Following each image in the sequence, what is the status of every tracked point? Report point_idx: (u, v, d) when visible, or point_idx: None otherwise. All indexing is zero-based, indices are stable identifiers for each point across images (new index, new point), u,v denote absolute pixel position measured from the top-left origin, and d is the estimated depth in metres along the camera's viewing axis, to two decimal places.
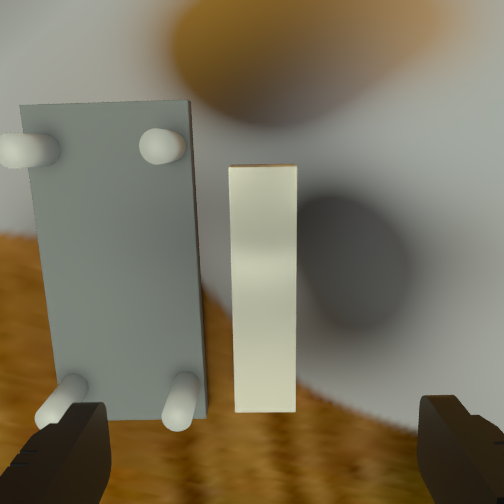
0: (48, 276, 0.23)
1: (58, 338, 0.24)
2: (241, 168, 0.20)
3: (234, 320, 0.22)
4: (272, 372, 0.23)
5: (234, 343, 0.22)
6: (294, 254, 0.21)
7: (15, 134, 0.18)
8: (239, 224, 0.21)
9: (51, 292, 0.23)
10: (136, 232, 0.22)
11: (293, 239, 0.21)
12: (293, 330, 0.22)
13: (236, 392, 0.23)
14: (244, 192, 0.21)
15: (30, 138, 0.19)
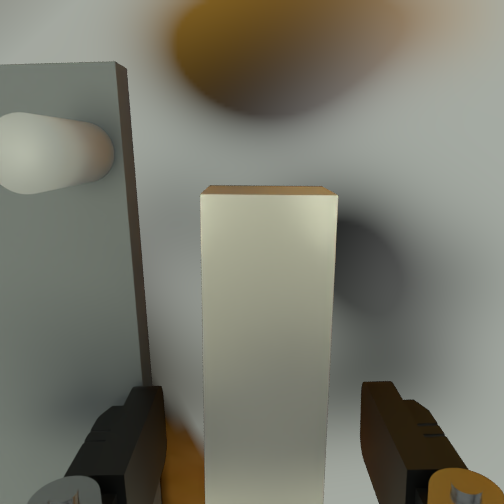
0: None
1: None
2: (226, 196, 0.10)
3: (208, 479, 0.12)
4: None
5: None
6: (326, 363, 0.11)
7: None
8: (219, 304, 0.11)
9: None
10: (27, 313, 0.12)
11: (325, 335, 0.11)
12: (318, 498, 0.12)
13: None
14: (231, 245, 0.10)
15: None
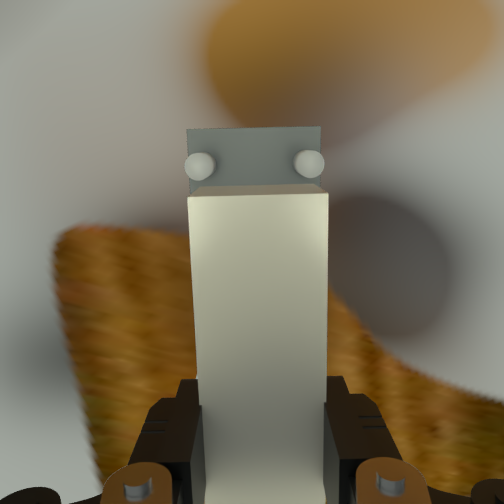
0: None
1: None
2: (214, 198, 0.10)
3: (207, 485, 0.11)
4: None
5: None
6: (322, 365, 0.11)
7: (202, 154, 0.24)
8: (211, 308, 0.10)
9: None
10: None
11: (320, 336, 0.11)
12: (320, 501, 0.12)
13: None
14: (221, 247, 0.10)
15: (208, 156, 0.24)
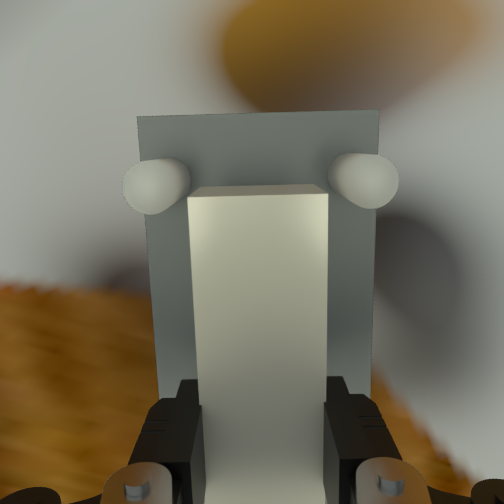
0: (162, 352, 0.16)
1: None
2: (214, 199, 0.10)
3: (207, 485, 0.12)
4: None
5: None
6: (322, 365, 0.11)
7: (156, 163, 0.12)
8: (212, 308, 0.10)
9: (166, 374, 0.17)
10: None
11: (320, 336, 0.11)
12: (320, 501, 0.12)
13: None
14: (221, 247, 0.10)
15: (171, 167, 0.13)
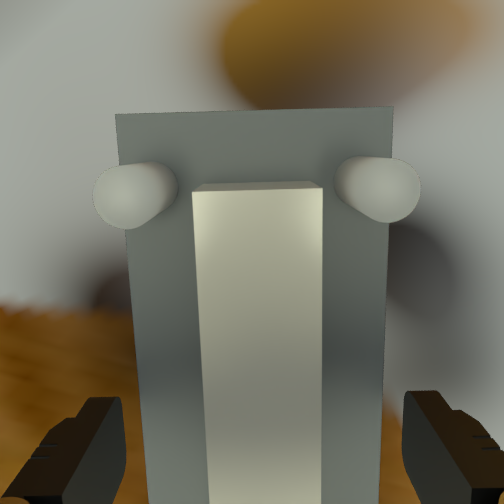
0: (146, 382, 0.14)
1: (157, 474, 0.15)
2: (216, 193, 0.11)
3: (210, 463, 0.12)
4: None
5: (211, 501, 0.13)
6: (318, 349, 0.11)
7: (133, 168, 0.10)
8: (214, 295, 0.11)
9: (151, 406, 0.15)
10: None
11: (316, 322, 0.11)
12: (316, 478, 0.12)
13: None
14: (223, 238, 0.11)
15: (152, 173, 0.11)
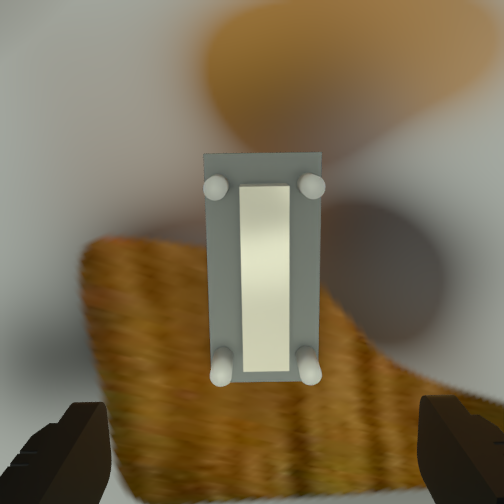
0: (211, 274, 0.32)
1: (214, 320, 0.32)
2: (248, 187, 0.28)
3: (243, 300, 0.29)
4: (272, 340, 0.30)
5: (243, 318, 0.30)
6: (287, 250, 0.29)
7: (218, 177, 0.27)
8: (246, 228, 0.28)
9: (213, 286, 0.32)
10: None
11: (287, 239, 0.29)
12: (287, 308, 0.29)
13: (244, 356, 0.30)
14: (251, 205, 0.28)
15: (224, 179, 0.28)
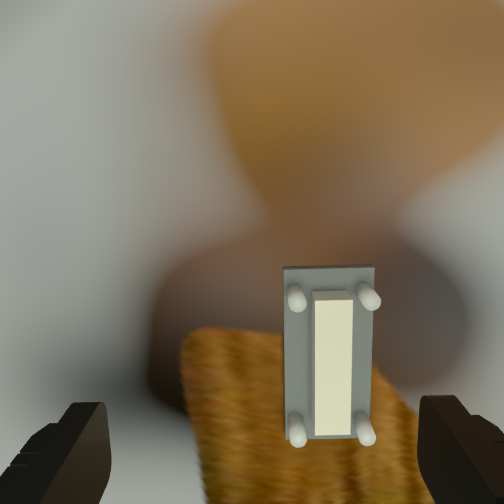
0: (287, 358, 0.41)
1: (288, 392, 0.41)
2: (322, 301, 0.37)
3: (316, 383, 0.38)
4: (337, 412, 0.39)
5: (315, 396, 0.39)
6: (351, 346, 0.38)
7: (300, 296, 0.36)
8: (320, 330, 0.37)
9: (288, 367, 0.41)
10: None
11: (350, 338, 0.38)
12: (349, 388, 0.39)
13: (316, 423, 0.39)
14: (323, 313, 0.37)
15: (303, 295, 0.37)
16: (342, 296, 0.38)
